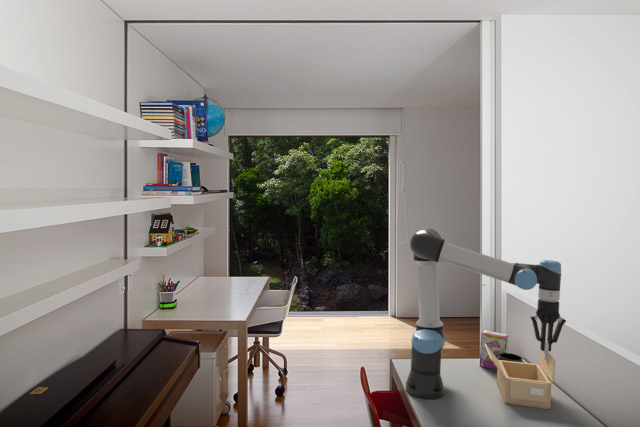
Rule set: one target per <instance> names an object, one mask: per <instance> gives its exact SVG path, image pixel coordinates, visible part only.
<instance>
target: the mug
mask: <svg viewBox="0 0 640 427" xmlns="http://www.w3.org/2000/svg"><path fill="white" fill-rule="evenodd" d="M499 360H504V361H513V362H522V363H525V361H523V357H522V356H520V355H518V354H515V353H510V352H509V353H508V352H507V353H501V354H500V355H499Z"/></svg>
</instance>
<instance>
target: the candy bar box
mask: <svg viewBox="0 0 640 427" xmlns="http://www.w3.org/2000/svg"><path fill="white" fill-rule="evenodd" d="M480 340H481V341H480V355H479V356H480V357H479V367H481V368H485V369H490V370H493V371H497V367H496V366H495V364H494V363H493V362H492V360H491V359H490V356H489V354H488V351H487V349H486V346H485V343H486V345H487V346H488V347H489V349H490V350H491V351H492V353H493V354H494V355H495V357H496V358H497V359H498V360H499V355H500V354H501V353H508V346H509V345H508V344H509V334H505V333H500V332H495V331H489V330H486V329H485V330H482V332H481V338H480Z"/></svg>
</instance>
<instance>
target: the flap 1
mask: <svg viewBox="0 0 640 427" xmlns="http://www.w3.org/2000/svg"><path fill="white" fill-rule="evenodd" d="M485 346H486V349H487V351H488V354H489V356H490V359H491V360H492V362H493V363H494V364H495V366H496V367H497V368H498V370H499V371H500V372H501V374H502V375H503V376H505V375H504V373H503V371H502V368H501V366H500V364H499V362H498V359H497V358H496V357H495V355H494V354H493V353H492V351H491V350H490V349H489V347H488V346H487V345H486V343H485Z"/></svg>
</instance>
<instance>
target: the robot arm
mask: <svg viewBox="0 0 640 427" xmlns="http://www.w3.org/2000/svg"><path fill="white" fill-rule="evenodd" d="M409 246H410V250H411V253H413V261H414V262H415V264H416V265H417V290H418V292H417V293H418V319H417V321H415V331H414V332H413V334H412V336H411V353H410V354H411V356H410V370H409V374H408V376H407V379H406V381H405V391H406V392H407V393H408V394H409V395H411V396H413V397H416V398H420V399H424V400H435V399H437V400H438V399H440V398H442V397H443V396H444V395H445V386H444V382H443V379H442V376H441V368H442V367H441V365H442V364H441V363H442V352H443V350H444V347H445V345H446V344H445V343H446V335H445V332H444V331H445V329H444V323H443V321H441V319H440V317H441V316H440V294H439V293H440V289H439V285H440V284H439V264H440V263H442V262H443V263H447V264H449V265H452V266H456V267H458V268H461V269H465V270H468V271H471V272H474V273H477V274H480V275H482V276H483V275H484V276H486V277H489V278H493V279H496V280H499V281H502V282H505V283H508V284H509V285H514V286H515V287H516V286H517V287H518V288H519V289H522V290H523V291H529V290H532V289H534V288H535V287H536V285H538V295H537V297H538V300H537V310H536V311H535V313H534V314H533V315H532V314H530V315H529V319H531V321H532V322H531V323H532V326H533V331H534V336H535V339H536V340H537V341H538V342H540V351H541V350H542V351H543V359H544V360H548V352H549V353H550V352H551V351H552V345H553V343H556V344H557V342H558V340H559V337H560V335H561V331H562V329H563V326H564V324H565V323H566V322H567V320H566V319H565V318H564V317H562V316H561V314H560V302H559V301H560V296H561V294H560V293H561V282H562V281H561V280H562V264H561V262H559V261H556V260H553V259H552V260H550V259H543V260H540V262H539V264H531V263H530V264H529V263H528V264H527V263H518V262H509V261H506V260H503V259H500V258H497V257H494V256H489V255H487V254H483V253H480V252H477V251H474V250H472V249H467V248H465V247H461V246H458V245H455V244H452V243H449V242H448V241H447V239H445V238H442V236H441V235H440V233H438V232H437V231H436V230H435V229H431V228H422V229H420V230H418V231H416V232H415V233H414V234H413V235H412V236H411V238H410V241H409ZM538 319H539V321H540V324H541V325H540V326H541V327H540V331H539V325H538V321H537V320H538ZM556 322H557V323H556ZM555 323H556V327H555V329H554V326H555ZM553 332H554V333H553Z"/></svg>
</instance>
